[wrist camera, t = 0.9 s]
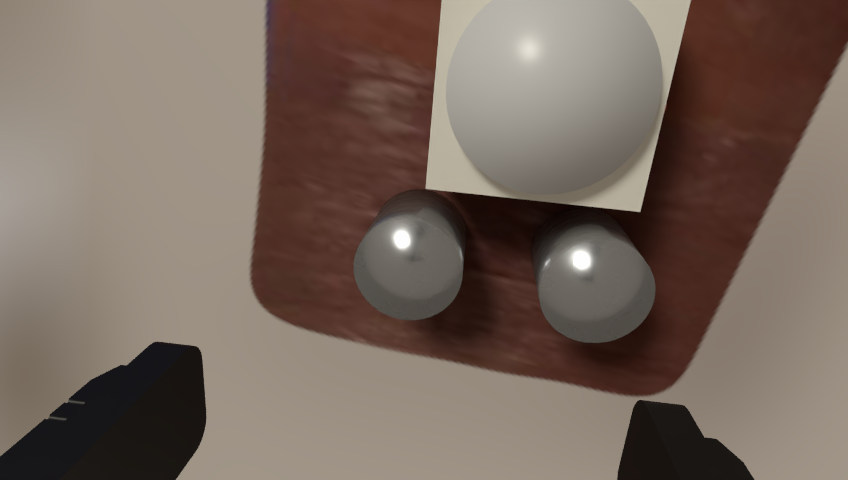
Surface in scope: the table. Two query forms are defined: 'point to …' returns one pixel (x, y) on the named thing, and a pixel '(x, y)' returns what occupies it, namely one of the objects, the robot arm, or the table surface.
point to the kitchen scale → (552, 98)
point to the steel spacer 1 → (412, 256)
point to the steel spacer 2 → (590, 276)
